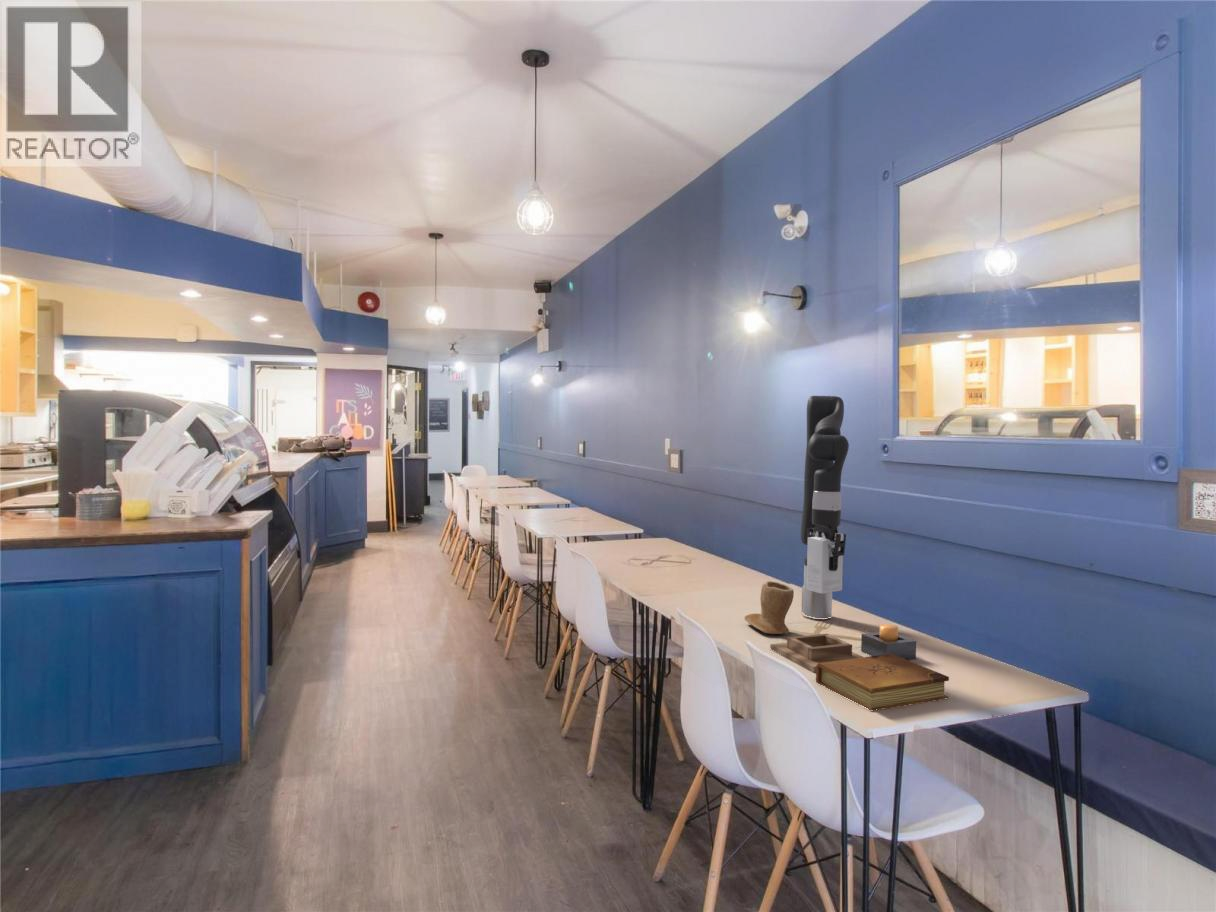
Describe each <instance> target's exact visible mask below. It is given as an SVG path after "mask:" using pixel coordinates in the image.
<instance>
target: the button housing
mask: <svg viewBox="0 0 1216 912" xmlns="http://www.w3.org/2000/svg"><path fill="white" fill-rule="evenodd" d="M860 643H861V644H860V646H861V647H860V651H862V653H864V654H866V653H867V654H866V655H868V654H869V655H868V656H870V655H871V656H877V655H885V654H894V655H896V656H899V657H901V658H904V659H906V660H909V661H911V660H916V659H917V640H914V639H911V638H909V637H907V636H904V635H901V634H899V633H898V640H896V641H885V640H883V639H880V638H879V631H877V632H876V631H875V632H868V633H866V632H865V633H861V641H860Z"/></svg>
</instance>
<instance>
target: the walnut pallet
mask: <svg viewBox="0 0 1216 912" xmlns="http://www.w3.org/2000/svg"><path fill="white" fill-rule="evenodd" d="M769 644H770V645H769V647H770V648H771V649H772V650H774V651H776V652H777V653H776V652H775V653H776V654H778V653H779V654H778V655H780V654H781V655H780V656H782V657H784V658H785V659H787V660H789V661H791V662H793V663H795V664H797V665H798V666H801V667H802V668H803V669H807V671H810V672H811V671H812V673H813V674H816V665H817V664H818V663H823V662H831V661H839V660H846V659H854V658H862V657H864V656H862V655H860V654H858V653H855V652H854V651H853V645H852V643H851V644H850V643H849V642H846V641H844V640H842V639H840V638H837V637H835V636H833V635H831V634H828V633H820V634H819V633H817V634H808V635H798V636H788V637H787V640H786V641H785V642H776V643H769ZM770 648H769V649H770ZM771 649H770V650H771ZM772 650H771V651H772ZM774 651H773V652H774Z"/></svg>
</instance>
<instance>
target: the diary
mask: <svg viewBox="0 0 1216 912" xmlns="http://www.w3.org/2000/svg"><path fill="white" fill-rule="evenodd" d="M949 680H950V676H947V675H945V674H942V673H940V672H938V671H936V670H933V669H931V668H927V667H926V666H923V665H921V664H918V663H916V662H913V661H911V660H906V659H904V658H901V657H899V656H896V655H894V654H885V655H877V656H870V655H868V656H863V657H862V658H854V659H846V660H839V661H831V662H823V663H818V664H817V665H816V672H815V682H816V684H817V683H818V685H819V684H820V685H819V686H821V685H823V686H825V687H826V689H827V688H828V689H827V690H829V689H830V690H829V691H831V690H832V691H831V692H833V691H834V692H836V693H838V694H840V695H842V696H844V697H846V698H848V699H850V700H852V701H854V702H856V703H858V704H860V705H862V706H864V707H866V708H868V709H869V710H876V709H882V708H889V709H892V708H891V707H895V708H898V707H897V706H901V707H905V706H904V705H907V706H910V705H909V704H913V705H917V704H916V703H919V704H923V703H922V702H925V703H929V702H928V701H931V702H934V701H933V700H936V701H940V700H939V699H942V700H946V699H945V698H948V699H949V696H948V695H946V694H945V682H948V681H949ZM823 686H822V687H823ZM825 687H824V688H825ZM834 692H833V693H834ZM836 693H835V694H836ZM838 694H837V695H838ZM840 695H839V696H840ZM842 696H841V697H842ZM844 697H843V698H844ZM846 698H845V699H846ZM848 699H847V700H848ZM850 700H849V701H850ZM852 701H851V702H852ZM869 710H868V711H869Z"/></svg>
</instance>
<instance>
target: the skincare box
mask: <svg viewBox="0 0 1216 912" xmlns="http://www.w3.org/2000/svg"><path fill="white" fill-rule="evenodd" d="M828 544H830V545H835V542H832V541H830V540H829V539H823V538H822V537H809V538H808V545H807V550H806V551H807V553H806V556H807V590H810V591H814V592H817V593H821V594H823V593H828V592H832V593H833V592H841V591H843V573H844V572H843V569H844V568H843V566H844V565H843V563H844V555H843V556H839V557H838V568H837V571H830V570H829V557H830V555H829V548H828ZM832 550H833V552H834V549H832ZM839 551H840V547H839Z"/></svg>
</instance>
